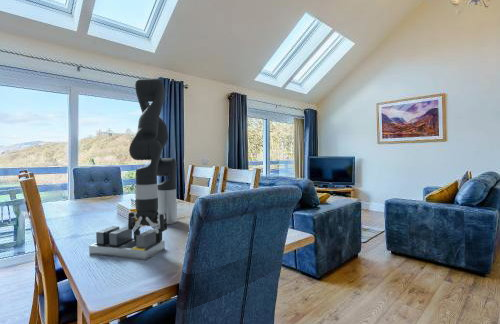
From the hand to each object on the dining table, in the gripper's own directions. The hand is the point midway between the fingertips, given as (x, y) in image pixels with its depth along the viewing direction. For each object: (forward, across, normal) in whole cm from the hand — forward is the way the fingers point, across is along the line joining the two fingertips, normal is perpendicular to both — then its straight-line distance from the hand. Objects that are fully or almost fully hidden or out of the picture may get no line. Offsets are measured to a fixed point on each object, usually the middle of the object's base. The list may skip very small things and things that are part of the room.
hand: (147, 242), depth 97 cm
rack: (+4, +8, 0) cm, 9 cm away
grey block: (+4, 0, 0) cm, 4 cm away
